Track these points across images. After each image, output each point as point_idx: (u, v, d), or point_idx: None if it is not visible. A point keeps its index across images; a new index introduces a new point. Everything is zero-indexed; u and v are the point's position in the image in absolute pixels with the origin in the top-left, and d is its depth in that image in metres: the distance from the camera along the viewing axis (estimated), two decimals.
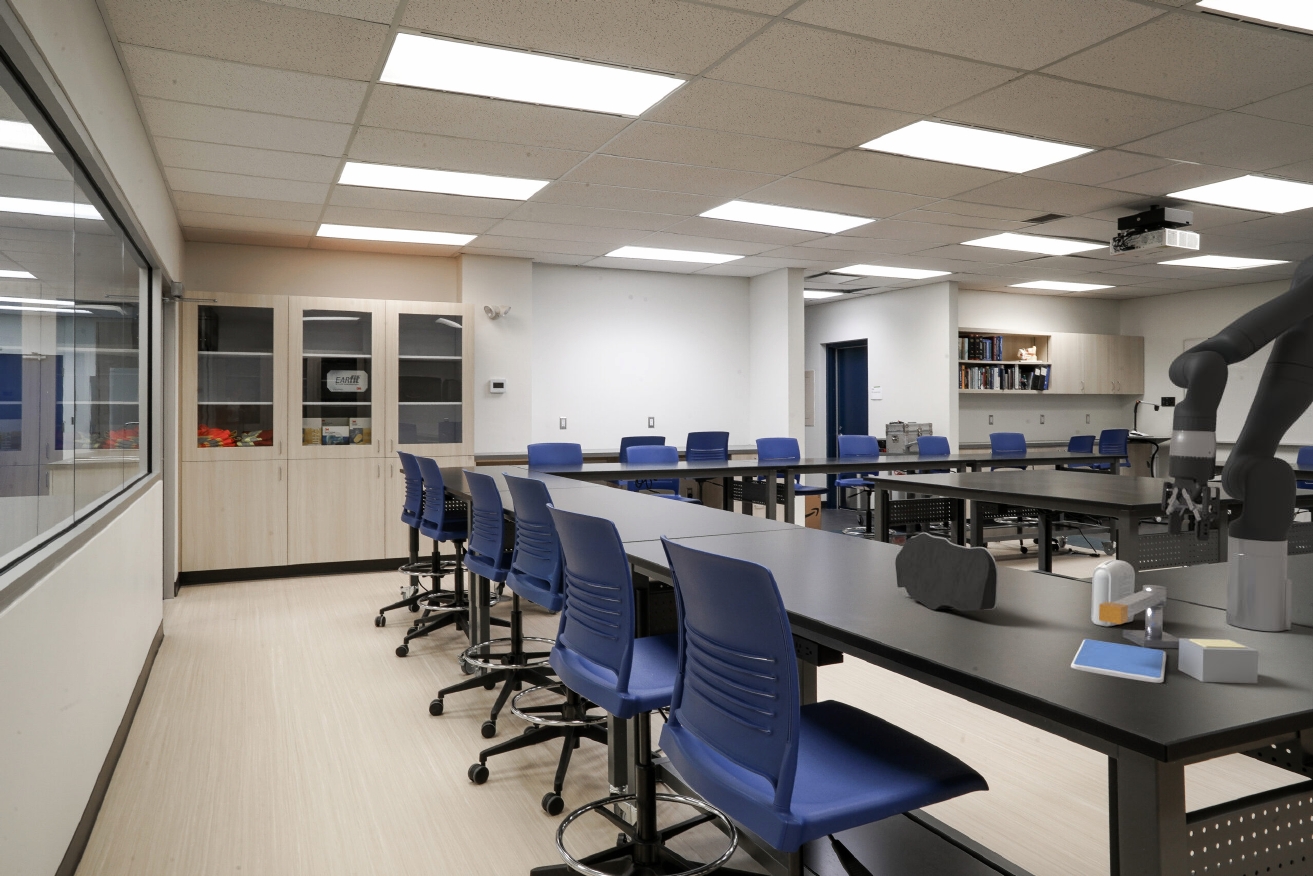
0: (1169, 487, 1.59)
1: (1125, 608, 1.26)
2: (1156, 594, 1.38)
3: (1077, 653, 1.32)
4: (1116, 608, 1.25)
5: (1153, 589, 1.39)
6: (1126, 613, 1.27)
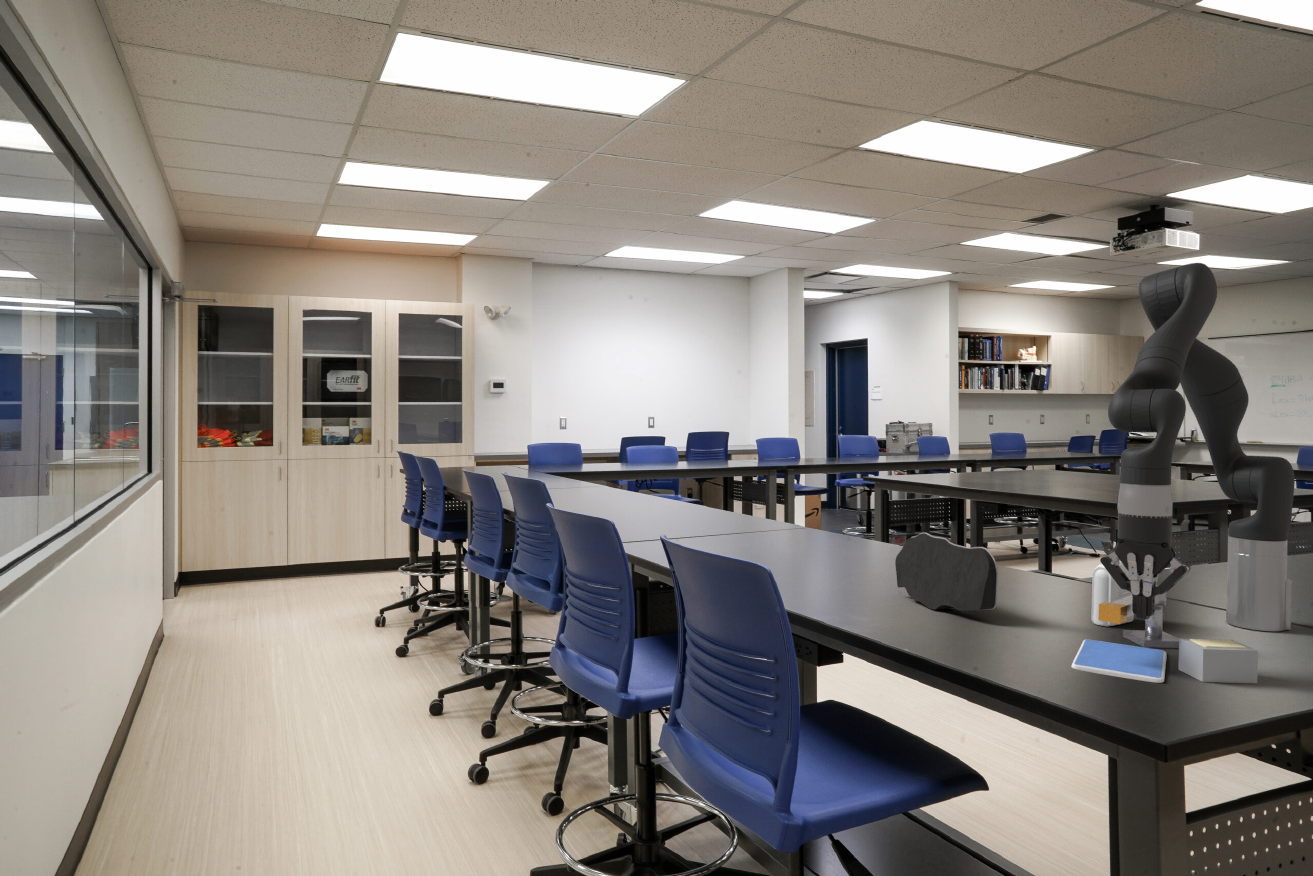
0: (1110, 561, 1.31)
1: (1124, 608, 1.26)
2: None
3: (1077, 653, 1.32)
4: (1115, 608, 1.25)
5: None
6: (1126, 612, 1.27)
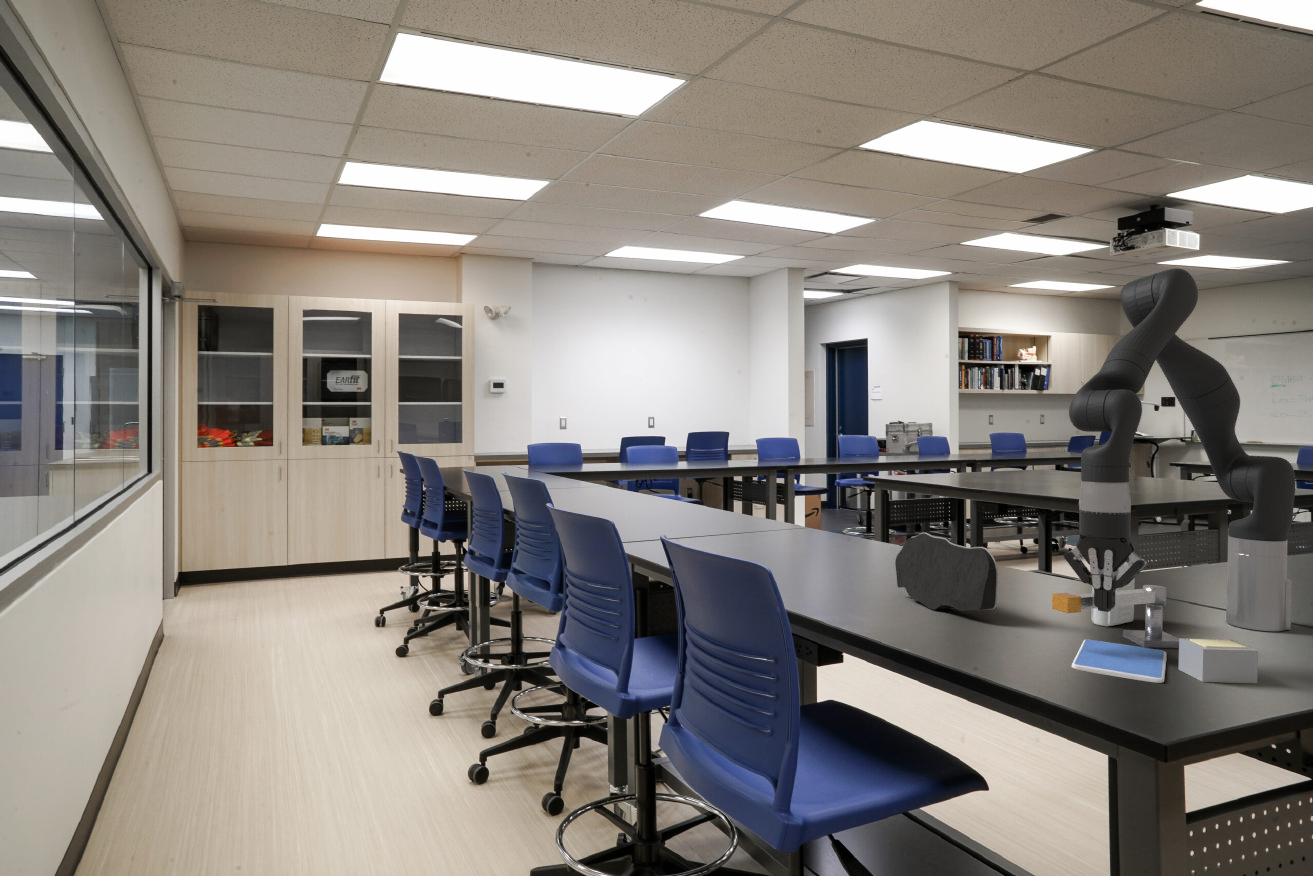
0: (1073, 556, 1.36)
1: (1076, 599, 1.33)
2: (1147, 593, 1.39)
3: (1078, 653, 1.32)
4: (1064, 598, 1.33)
5: (1149, 588, 1.40)
6: (1079, 603, 1.33)
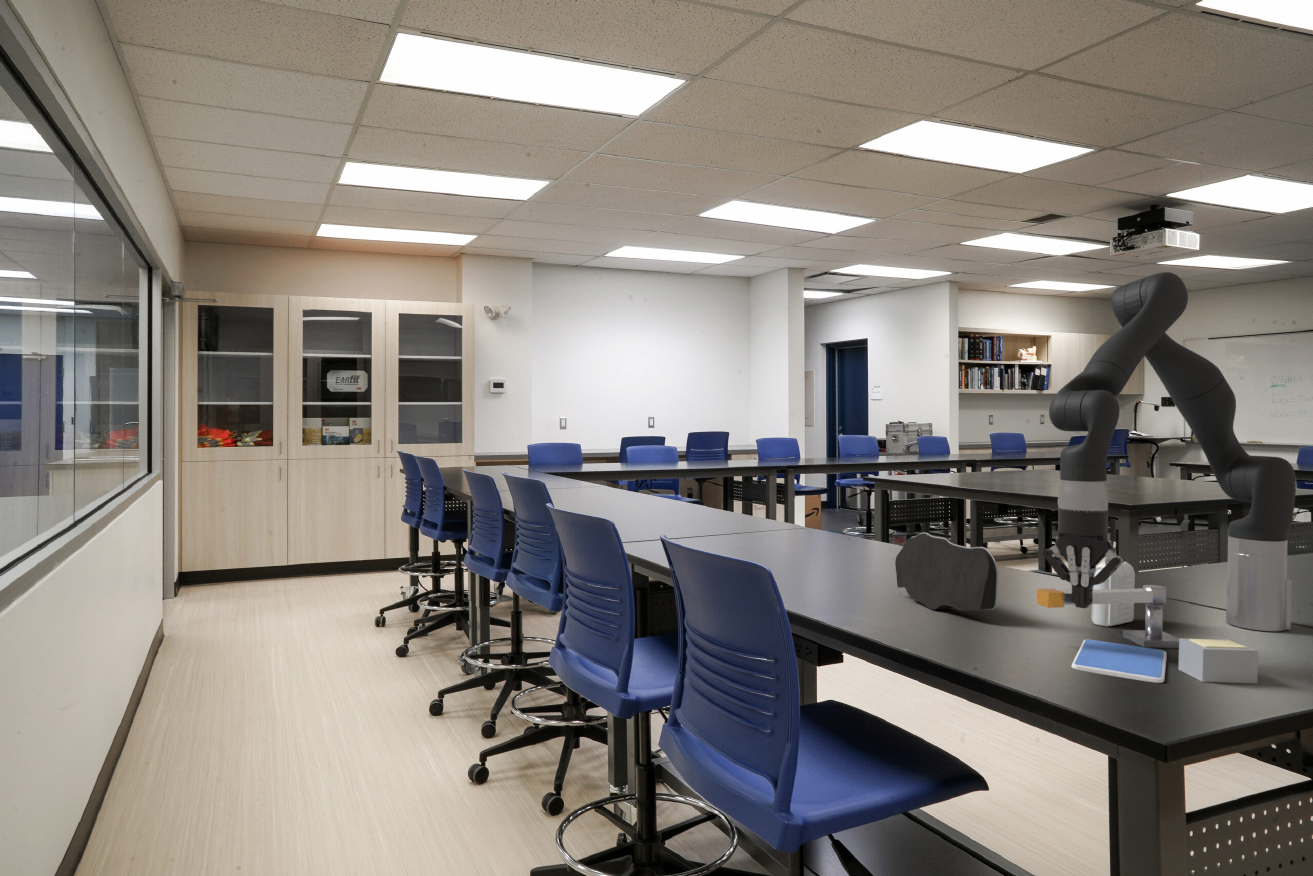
0: (1051, 553, 1.38)
1: (1058, 594, 1.36)
2: (1144, 592, 1.39)
3: (1078, 653, 1.32)
4: (1046, 593, 1.36)
5: (1147, 588, 1.40)
6: (1062, 599, 1.36)
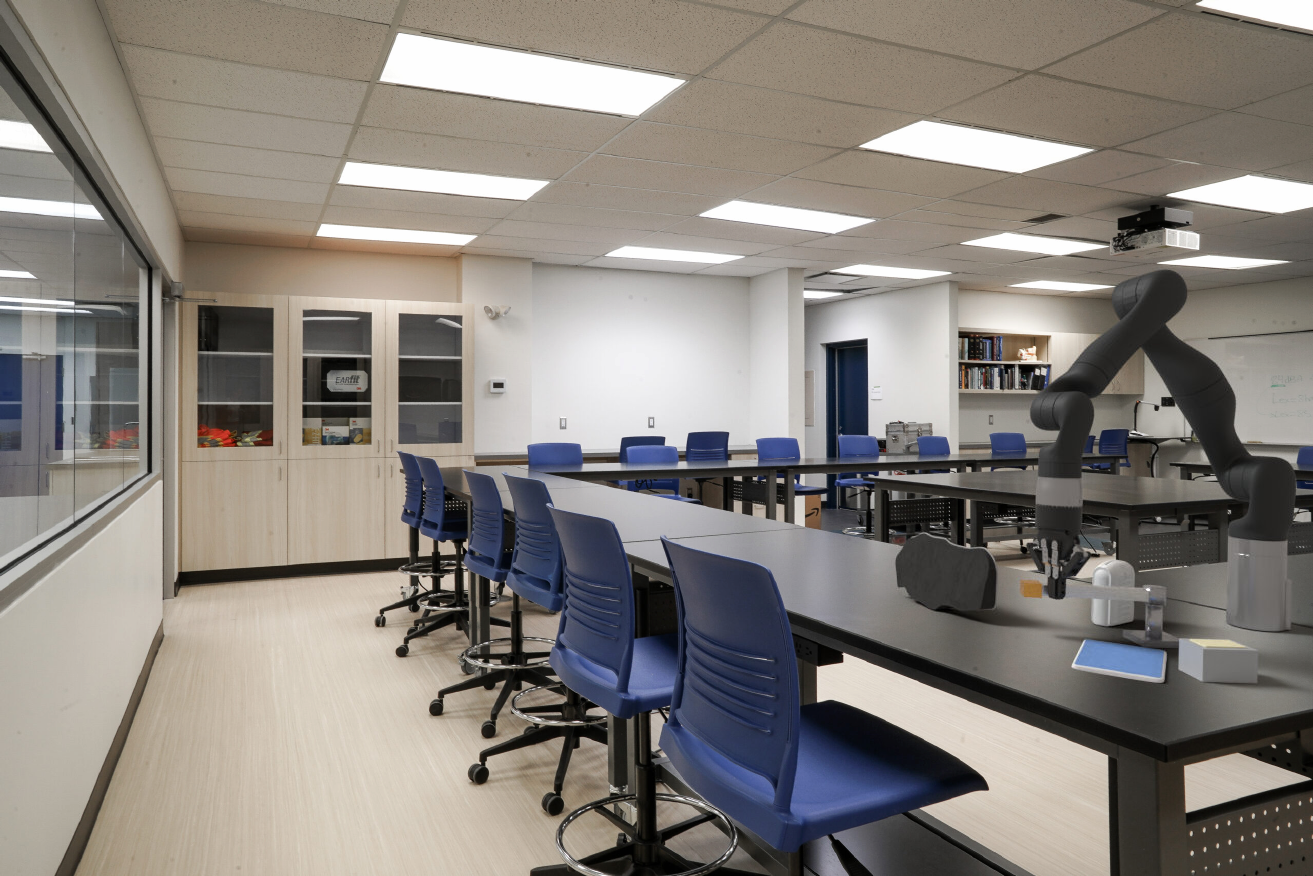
0: (1034, 546, 1.46)
1: (1035, 585, 1.44)
2: (1137, 591, 1.40)
3: (1078, 653, 1.32)
4: (1023, 583, 1.45)
5: (1144, 587, 1.41)
6: (1040, 590, 1.43)
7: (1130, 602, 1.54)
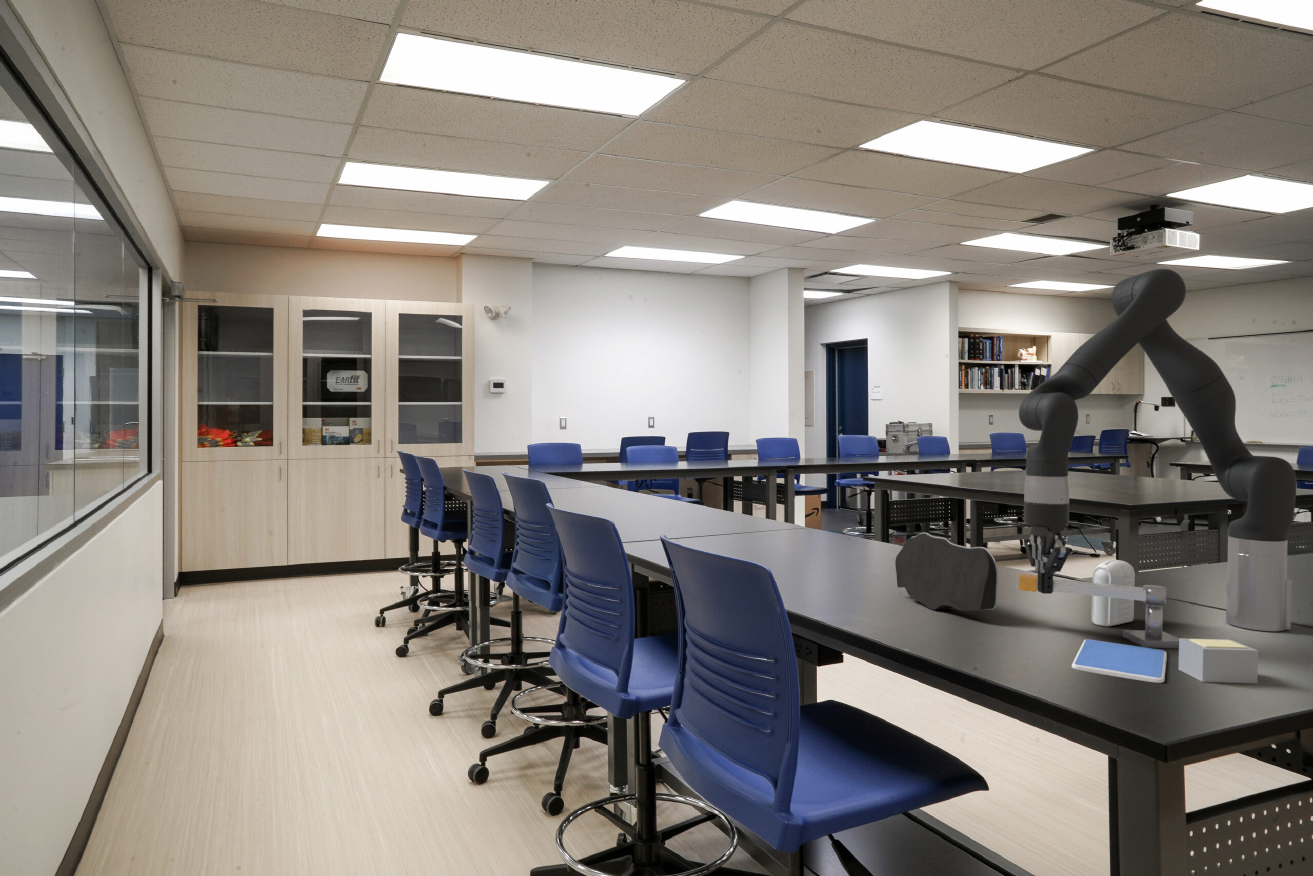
0: (1029, 542, 1.51)
1: (1030, 579, 1.49)
2: (1134, 590, 1.41)
3: (1078, 653, 1.32)
4: (1019, 577, 1.51)
5: (1143, 587, 1.41)
6: (1034, 584, 1.49)
7: (1130, 602, 1.54)
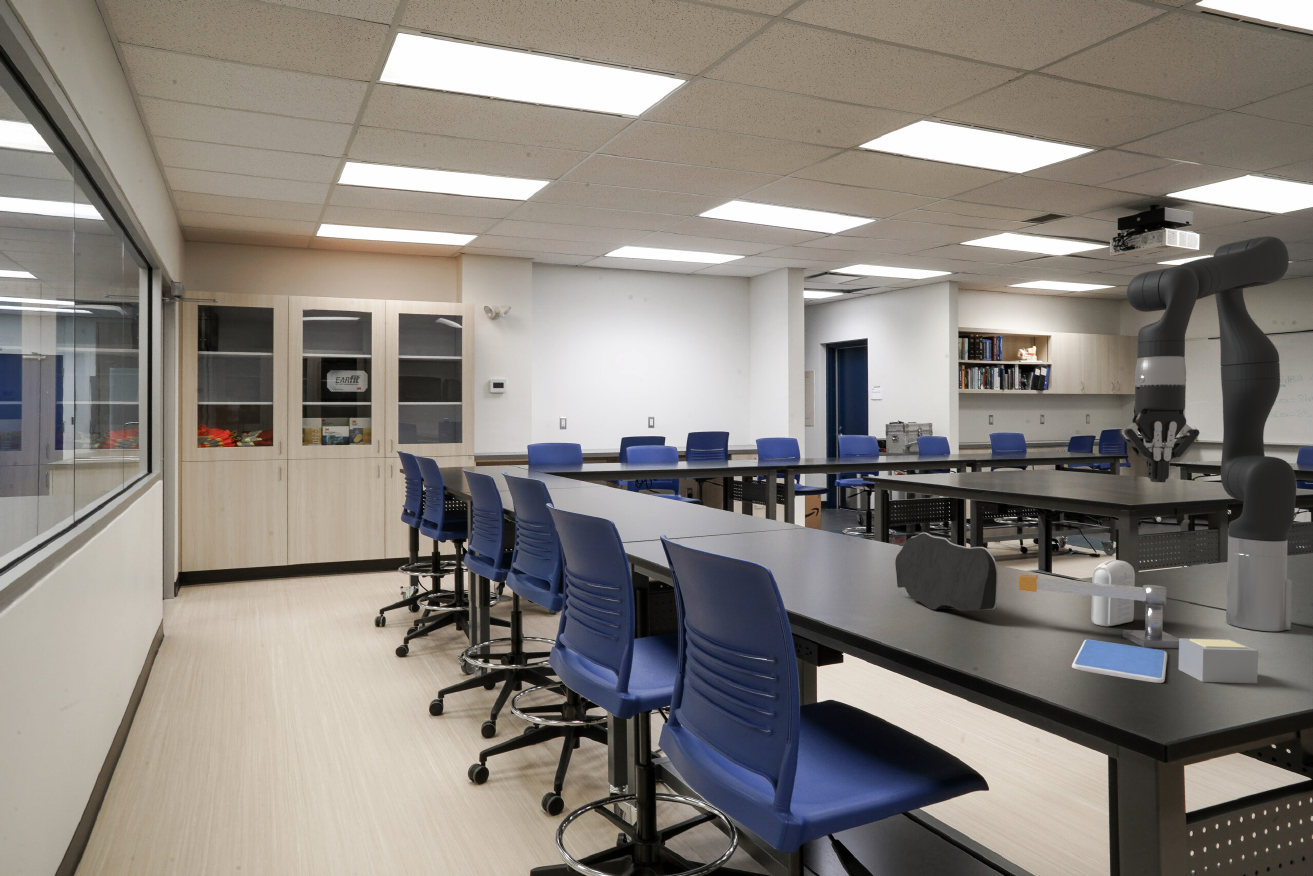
0: None
1: (1030, 579, 1.49)
2: (1134, 590, 1.41)
3: (1078, 653, 1.32)
4: (1019, 576, 1.51)
5: (1143, 587, 1.41)
6: (1034, 584, 1.49)
7: (1130, 602, 1.54)
